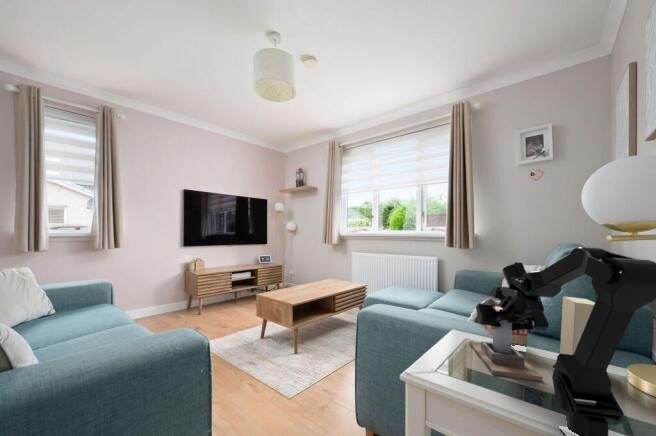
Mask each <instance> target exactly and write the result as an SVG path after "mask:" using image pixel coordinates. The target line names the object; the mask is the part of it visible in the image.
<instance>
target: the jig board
mask: <svg viewBox="0 0 656 436" xmlns="http://www.w3.org/2000/svg"><path fill="white" fill-rule="evenodd" d="M480 341H481V342H480ZM480 341H479V342H478V341H471V340H470V341H468V344H469V346H470V348H471V349H472V350H473V352H474V353H475V354H476V355H477V356H478V358H479V359H480V360H481V362H482V364H484V366H485V367H486V368H487V370H488V371H489V372H490V373H491V375H495V376H502V377H509V378H510V377H511V378H518V379H524V380H530V381H538V382H543V376H542V375H541V374H540V373H539V372H538V371H536V369H535V368H533V367H532V366H531V365H530V364H529V363H528V362H527V361H526V360H525V357H524V356H523V354H521V353H520V352H519V351H517V350H515V349H514V348H513V347H512V346H511V354H503V353H499V352H497V351H495V350H493V342H492V341H484V340H483V341H482V340H480Z"/></svg>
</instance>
